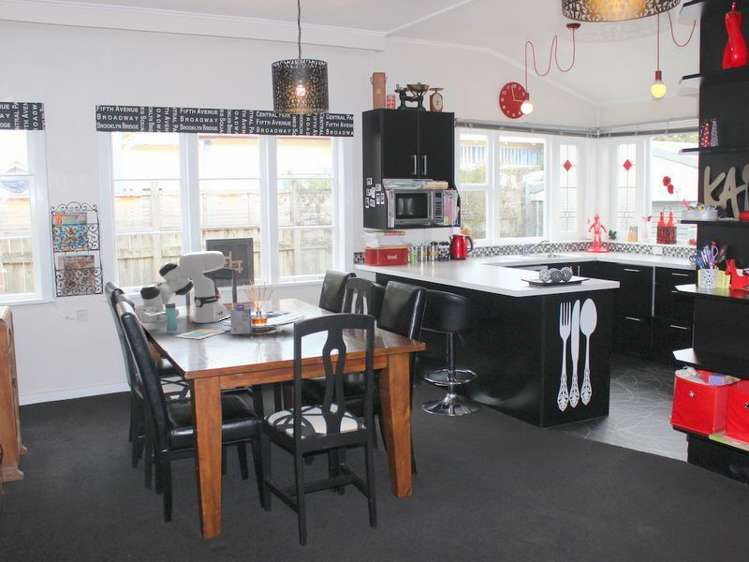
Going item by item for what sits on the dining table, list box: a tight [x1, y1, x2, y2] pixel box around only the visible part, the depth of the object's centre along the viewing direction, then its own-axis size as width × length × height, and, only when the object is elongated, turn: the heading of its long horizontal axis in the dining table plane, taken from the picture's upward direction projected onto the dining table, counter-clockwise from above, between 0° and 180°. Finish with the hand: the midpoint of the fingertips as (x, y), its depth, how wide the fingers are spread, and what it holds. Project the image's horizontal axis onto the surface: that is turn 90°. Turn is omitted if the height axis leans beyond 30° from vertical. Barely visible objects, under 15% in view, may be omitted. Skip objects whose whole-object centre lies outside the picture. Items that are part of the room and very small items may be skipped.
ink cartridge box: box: [229, 304, 253, 335], centre depth 370 cm, size 10×6×14 cm, turn 90°
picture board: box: [174, 328, 226, 340], centre depth 370 cm, size 19×17×1 cm
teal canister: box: [164, 302, 178, 332], centre depth 374 cm, size 5×5×14 cm
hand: (172, 316), depth 374 cm, fingers closed on teal canister, 5 cm apart
